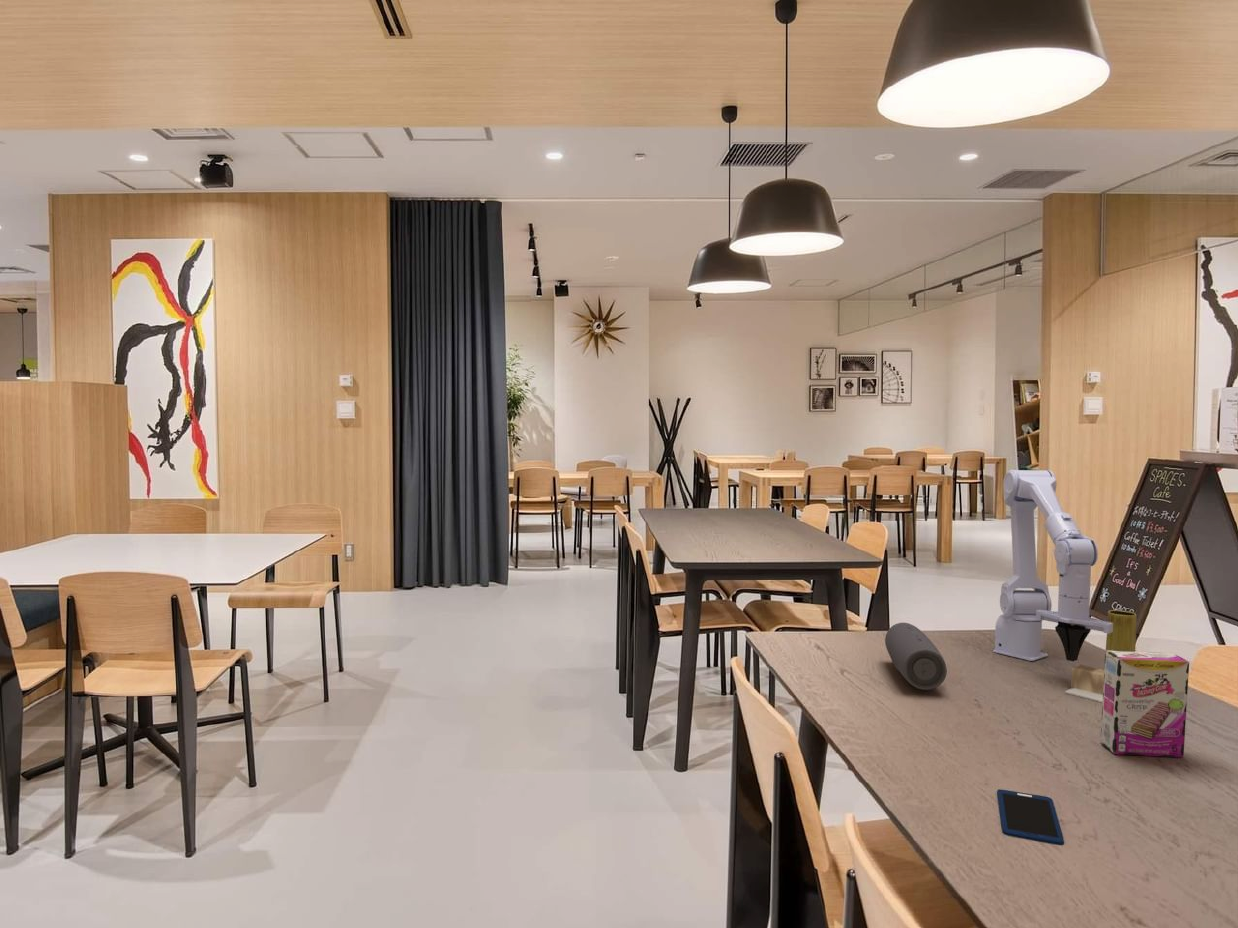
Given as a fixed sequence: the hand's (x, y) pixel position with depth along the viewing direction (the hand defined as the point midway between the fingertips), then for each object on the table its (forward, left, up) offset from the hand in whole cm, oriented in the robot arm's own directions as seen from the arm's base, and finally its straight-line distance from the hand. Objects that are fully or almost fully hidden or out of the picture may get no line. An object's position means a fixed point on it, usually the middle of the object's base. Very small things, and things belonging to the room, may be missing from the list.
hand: (1071, 659), depth 167 cm
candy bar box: (+23, -26, -6) cm, 35 cm away
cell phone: (+23, -64, -6) cm, 68 cm away
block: (+1, 0, -3) cm, 3 cm away
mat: (+6, 0, -5) cm, 8 cm away
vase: (+4, +14, -6) cm, 16 cm away
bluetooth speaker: (-22, -23, -6) cm, 32 cm away
